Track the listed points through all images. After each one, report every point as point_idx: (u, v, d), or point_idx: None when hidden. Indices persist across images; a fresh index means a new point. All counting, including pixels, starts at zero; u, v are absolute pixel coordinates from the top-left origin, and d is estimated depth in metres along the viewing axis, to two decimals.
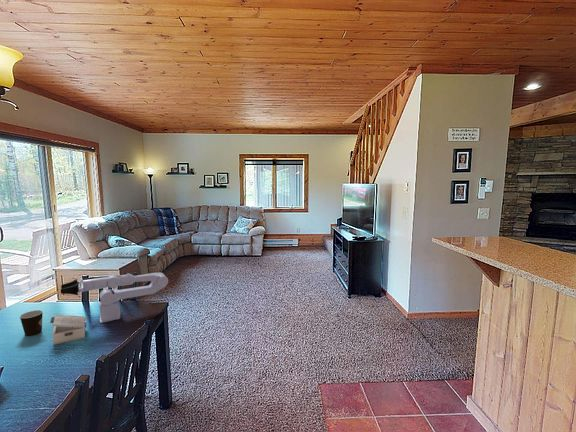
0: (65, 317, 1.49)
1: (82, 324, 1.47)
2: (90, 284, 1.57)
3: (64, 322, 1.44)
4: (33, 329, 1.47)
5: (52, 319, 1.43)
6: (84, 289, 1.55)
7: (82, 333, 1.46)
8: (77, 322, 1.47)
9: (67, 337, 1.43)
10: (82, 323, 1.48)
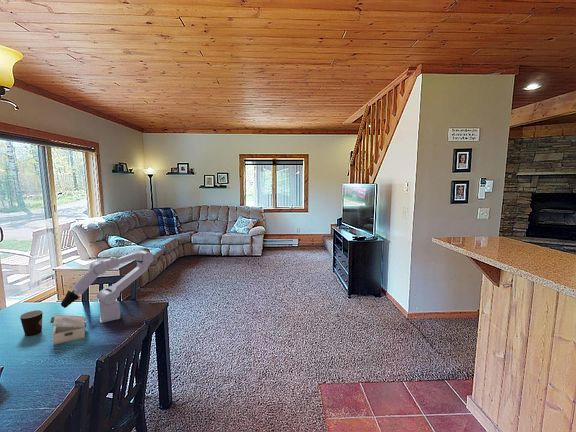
0: (65, 317, 1.49)
1: (82, 324, 1.47)
2: (81, 283, 1.52)
3: (64, 322, 1.44)
4: (33, 329, 1.47)
5: (52, 319, 1.43)
6: (81, 290, 1.51)
7: (82, 333, 1.46)
8: (77, 322, 1.47)
9: (67, 337, 1.43)
10: (82, 323, 1.48)
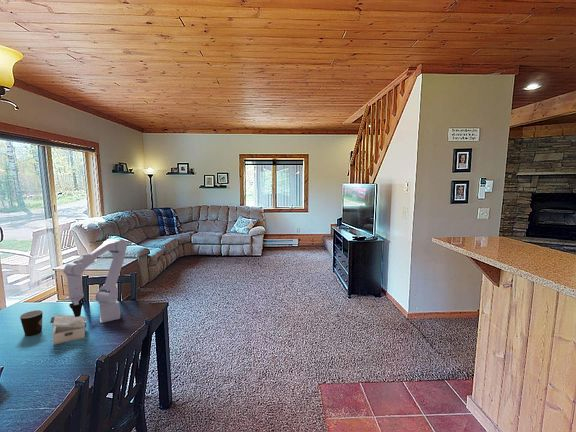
0: (65, 317, 1.49)
1: (82, 324, 1.47)
2: (73, 291, 1.44)
3: (64, 322, 1.44)
4: (33, 329, 1.47)
5: (52, 319, 1.43)
6: (79, 295, 1.46)
7: (82, 333, 1.46)
8: (77, 322, 1.47)
9: (67, 337, 1.43)
10: (82, 323, 1.48)
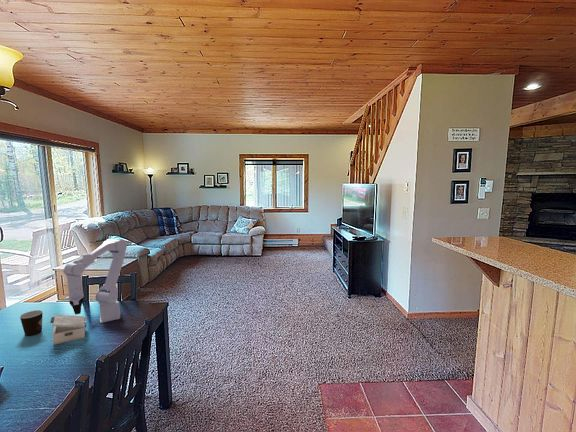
0: (65, 317, 1.49)
1: (82, 324, 1.47)
2: (73, 291, 1.44)
3: (64, 322, 1.44)
4: (33, 329, 1.47)
5: (52, 319, 1.43)
6: (79, 295, 1.46)
7: (82, 333, 1.46)
8: (77, 322, 1.47)
9: (67, 337, 1.43)
10: (82, 323, 1.48)
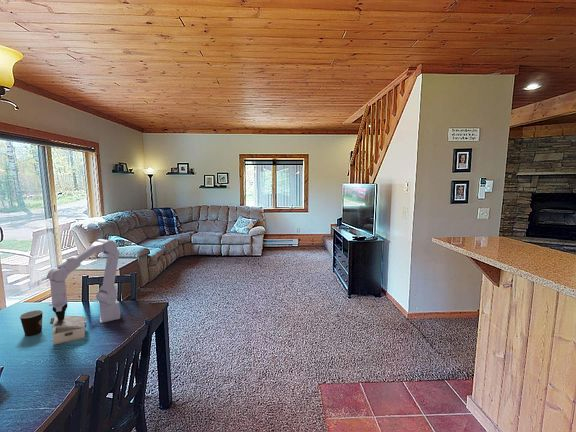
0: (64, 317, 1.49)
1: (82, 324, 1.47)
2: (56, 297, 1.41)
3: (64, 323, 1.44)
4: (33, 329, 1.47)
5: (52, 320, 1.43)
6: (62, 302, 1.43)
7: (82, 333, 1.46)
8: (77, 323, 1.47)
9: (67, 337, 1.43)
10: (82, 323, 1.48)
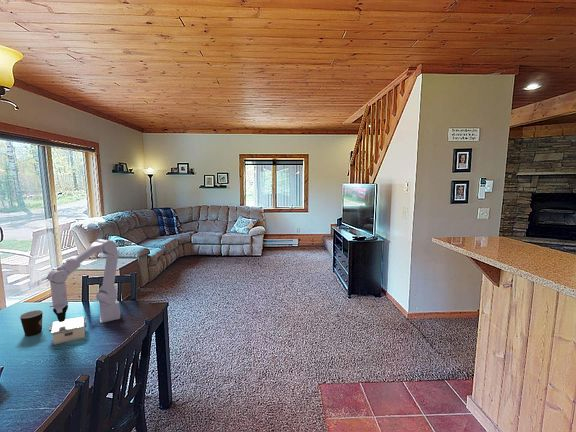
0: (63, 322, 1.49)
1: (81, 325, 1.47)
2: (56, 299, 1.41)
3: (63, 327, 1.44)
4: (33, 329, 1.47)
5: (50, 327, 1.43)
6: (63, 303, 1.43)
7: (82, 333, 1.46)
8: (76, 324, 1.47)
9: (67, 337, 1.43)
10: (81, 324, 1.48)
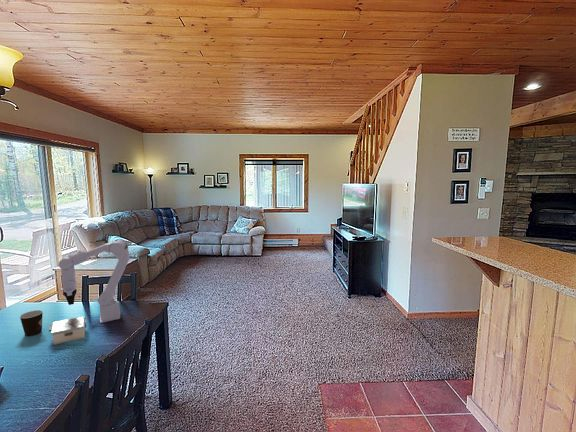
0: (63, 322, 1.49)
1: (81, 325, 1.47)
2: (66, 283, 1.55)
3: (63, 327, 1.44)
4: (33, 329, 1.47)
5: (50, 327, 1.43)
6: (72, 287, 1.57)
7: (82, 333, 1.46)
8: (76, 324, 1.47)
9: (67, 337, 1.43)
10: (81, 324, 1.48)
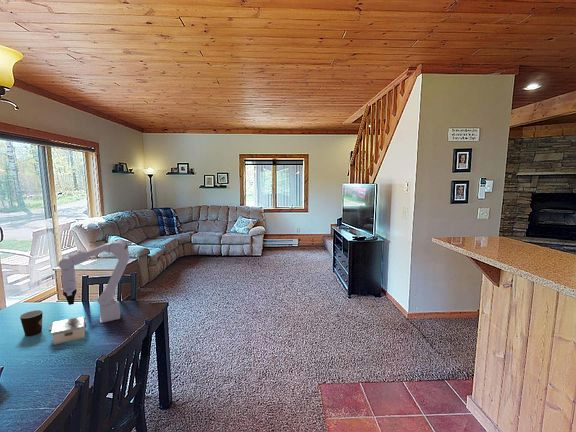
0: (63, 322, 1.49)
1: (81, 325, 1.47)
2: (66, 283, 1.55)
3: (63, 327, 1.44)
4: (33, 329, 1.47)
5: (50, 327, 1.43)
6: (72, 287, 1.57)
7: (82, 333, 1.46)
8: (76, 324, 1.47)
9: (67, 337, 1.43)
10: (81, 324, 1.48)
